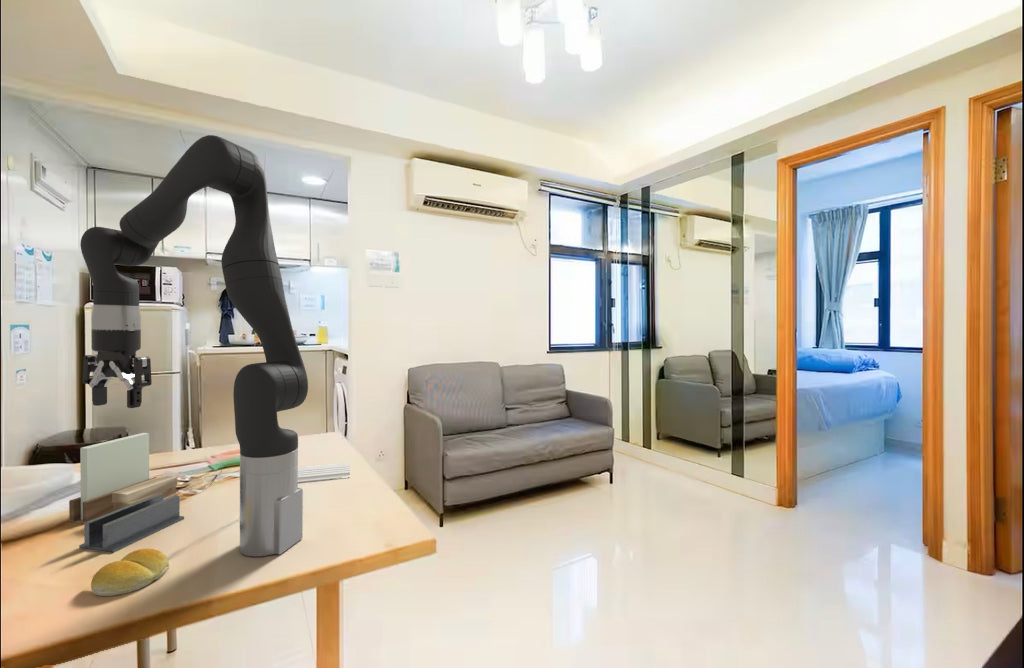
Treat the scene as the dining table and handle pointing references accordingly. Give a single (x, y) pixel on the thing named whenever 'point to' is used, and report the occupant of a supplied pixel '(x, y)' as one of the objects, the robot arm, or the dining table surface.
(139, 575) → the bread roll
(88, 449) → the sage panel
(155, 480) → the tan piece
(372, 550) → the dining table surface
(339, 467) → the baseboard molding
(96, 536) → the grey stand
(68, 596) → the dining table surface
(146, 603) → the dining table surface
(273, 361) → the robot arm
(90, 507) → the walnut rack
